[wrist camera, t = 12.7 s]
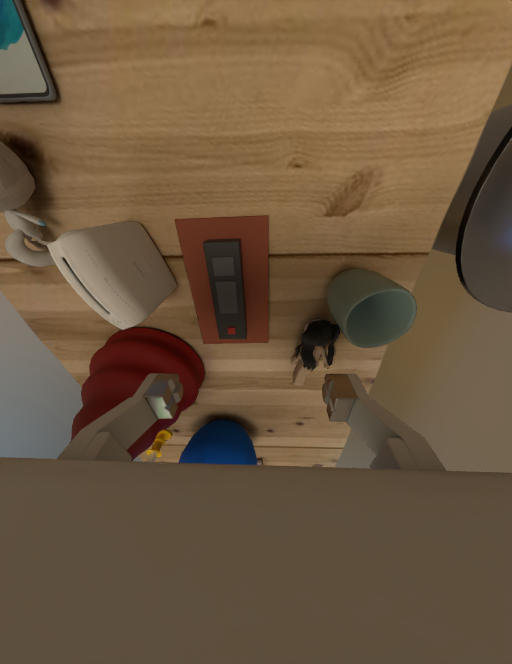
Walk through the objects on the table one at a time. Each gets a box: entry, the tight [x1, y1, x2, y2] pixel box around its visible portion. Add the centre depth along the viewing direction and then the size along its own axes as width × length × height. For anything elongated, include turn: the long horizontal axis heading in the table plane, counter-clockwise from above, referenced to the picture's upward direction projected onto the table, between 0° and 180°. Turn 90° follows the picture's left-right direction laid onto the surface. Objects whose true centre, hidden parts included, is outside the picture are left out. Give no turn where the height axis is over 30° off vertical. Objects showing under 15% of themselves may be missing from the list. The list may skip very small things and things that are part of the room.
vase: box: [179, 420, 257, 465], centre depth 40 cm, size 18×18×30 cm
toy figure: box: [291, 319, 342, 386], centre depth 34 cm, size 7×6×15 cm
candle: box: [146, 429, 172, 462], centre depth 48 cm, size 5×5×16 cm
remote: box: [203, 239, 247, 339], centre depth 29 cm, size 15×5×2 cm, turn 2°
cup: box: [326, 268, 417, 348], centre depth 25 cm, size 8×8×10 cm
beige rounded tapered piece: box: [0, 142, 56, 267], centre depth 22 cm, size 10×8×15 cm
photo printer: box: [47, 221, 177, 330], centre depth 23 cm, size 10×4×12 cm, turn 19°
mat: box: [175, 216, 268, 344], centre depth 30 cm, size 12×20×1 cm, turn 2°
